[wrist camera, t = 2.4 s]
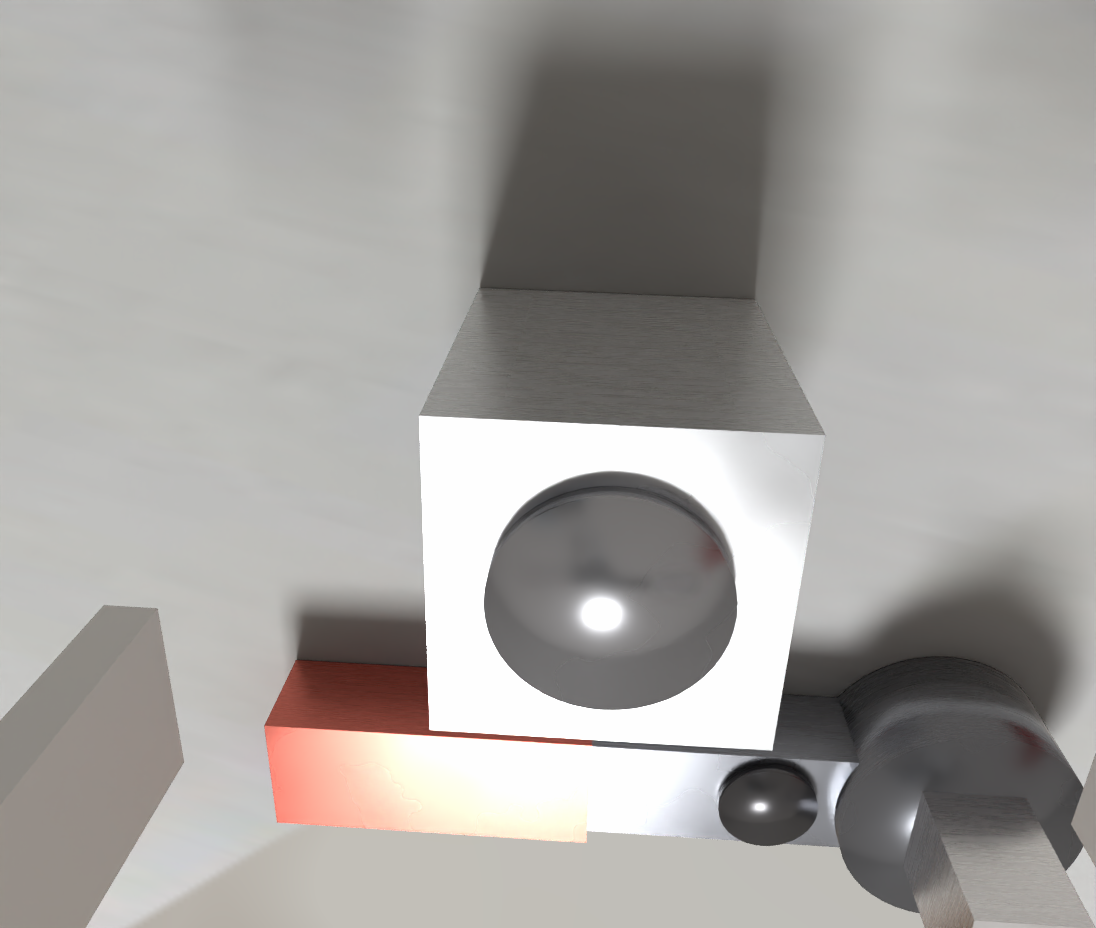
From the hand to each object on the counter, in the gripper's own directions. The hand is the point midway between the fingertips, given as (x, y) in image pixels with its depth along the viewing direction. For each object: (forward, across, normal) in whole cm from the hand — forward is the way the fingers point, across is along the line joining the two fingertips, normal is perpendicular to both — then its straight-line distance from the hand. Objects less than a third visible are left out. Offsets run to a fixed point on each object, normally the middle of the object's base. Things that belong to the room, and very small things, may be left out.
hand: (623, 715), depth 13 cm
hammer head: (+10, 0, 0) cm, 10 cm away
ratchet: (+10, +2, -8) cm, 13 cm away
